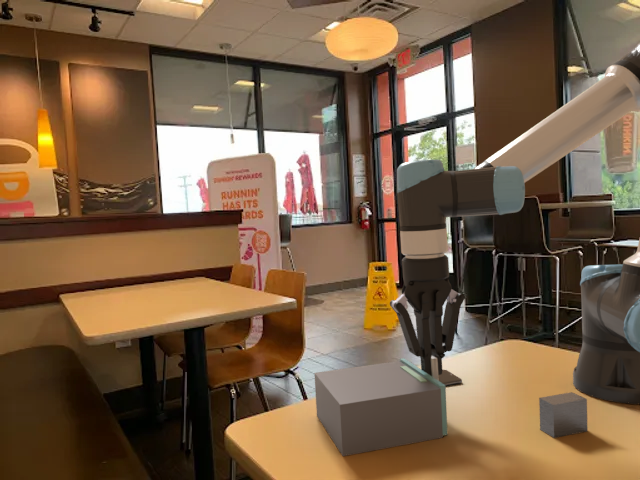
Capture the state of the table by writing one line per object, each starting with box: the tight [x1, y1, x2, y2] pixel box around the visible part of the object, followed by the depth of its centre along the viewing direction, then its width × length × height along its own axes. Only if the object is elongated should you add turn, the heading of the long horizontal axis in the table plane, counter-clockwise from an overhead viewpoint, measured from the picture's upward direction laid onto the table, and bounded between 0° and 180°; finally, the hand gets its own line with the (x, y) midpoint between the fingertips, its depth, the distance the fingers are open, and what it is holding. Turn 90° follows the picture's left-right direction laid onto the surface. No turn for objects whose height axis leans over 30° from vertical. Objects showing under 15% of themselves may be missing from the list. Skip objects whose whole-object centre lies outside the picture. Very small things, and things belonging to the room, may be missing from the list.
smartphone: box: [438, 369, 463, 387], centre depth 98 cm, size 7×1×16 cm
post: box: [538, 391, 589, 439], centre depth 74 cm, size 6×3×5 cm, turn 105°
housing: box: [314, 360, 444, 457], centre depth 79 cm, size 16×15×8 cm
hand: (433, 393), depth 82 cm, fingers closed
